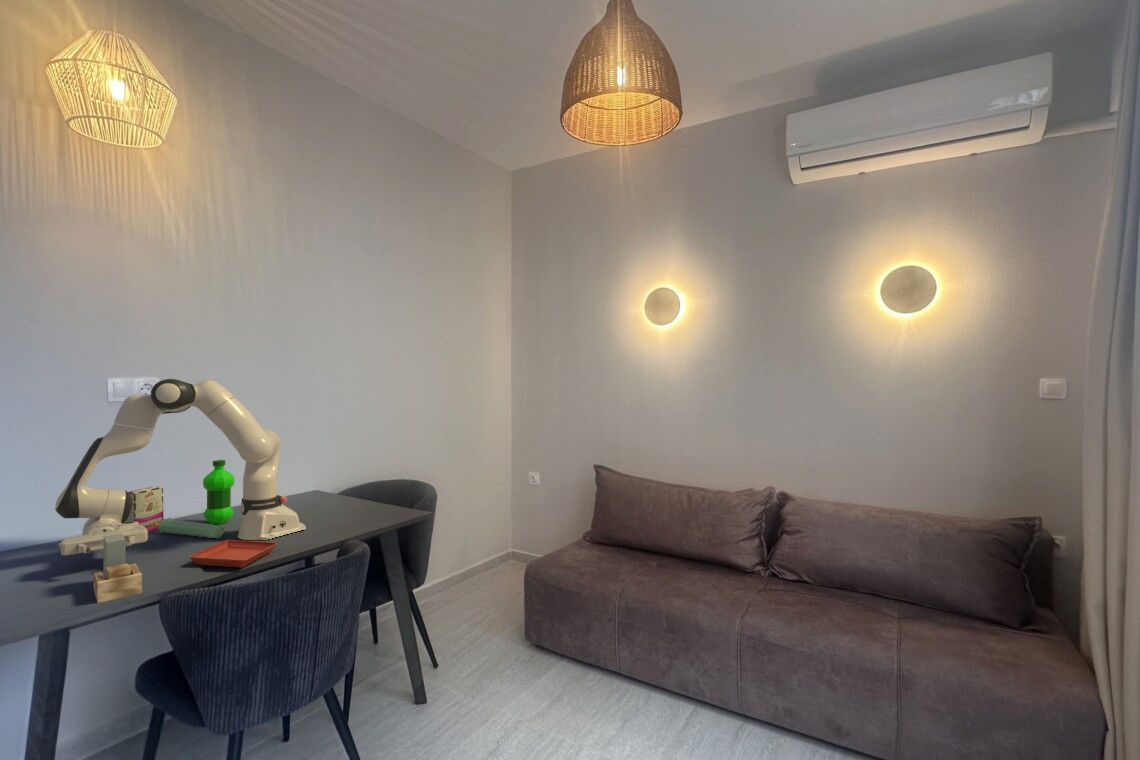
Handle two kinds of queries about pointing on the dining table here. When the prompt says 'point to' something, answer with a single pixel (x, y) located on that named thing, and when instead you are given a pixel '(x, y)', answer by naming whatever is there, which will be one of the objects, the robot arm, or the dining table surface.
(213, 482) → the plastic bottle
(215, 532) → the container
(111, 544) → the grey rectangular block
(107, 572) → the offcut upper
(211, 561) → the plant saucer
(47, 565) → the dining table surface
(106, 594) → the rack
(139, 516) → the candy bar box
